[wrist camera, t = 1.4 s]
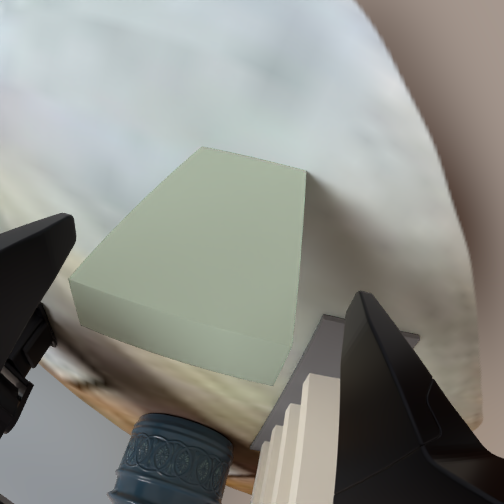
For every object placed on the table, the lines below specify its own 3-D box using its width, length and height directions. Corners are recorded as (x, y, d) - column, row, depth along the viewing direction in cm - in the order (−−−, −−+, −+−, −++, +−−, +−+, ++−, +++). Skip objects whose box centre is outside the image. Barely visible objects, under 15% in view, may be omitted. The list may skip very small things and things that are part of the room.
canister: (191, 408, 29) (141, 560, 15) (255, 454, 35) (228, 574, 20) (119, 410, 35) (72, 522, 20) (182, 453, 40) (151, 551, 26)
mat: (250, 446, 33) (249, 448, 33) (323, 314, 19) (323, 319, 19) (305, 455, 33) (305, 458, 32) (418, 334, 19) (419, 339, 18)
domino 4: (285, 410, 26) (268, 514, 17) (290, 403, 25) (273, 512, 17) (337, 419, 25) (330, 519, 17) (344, 411, 25) (338, 517, 16)
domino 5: (302, 383, 23) (287, 507, 15) (309, 373, 22) (295, 503, 14) (361, 393, 23) (359, 511, 14) (370, 383, 22) (371, 506, 13)
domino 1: (197, 177, 15) (80, 325, 7) (201, 146, 14) (68, 278, 6) (297, 201, 15) (272, 386, 7) (306, 170, 14) (291, 346, 6)
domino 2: (261, 445, 31) (246, 522, 23) (264, 440, 30) (248, 521, 22) (303, 452, 31) (292, 528, 23) (307, 448, 30) (297, 527, 22)
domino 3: (272, 430, 28) (255, 519, 20) (275, 424, 28) (259, 518, 19) (318, 438, 28) (309, 525, 20) (324, 432, 27) (315, 523, 19)
